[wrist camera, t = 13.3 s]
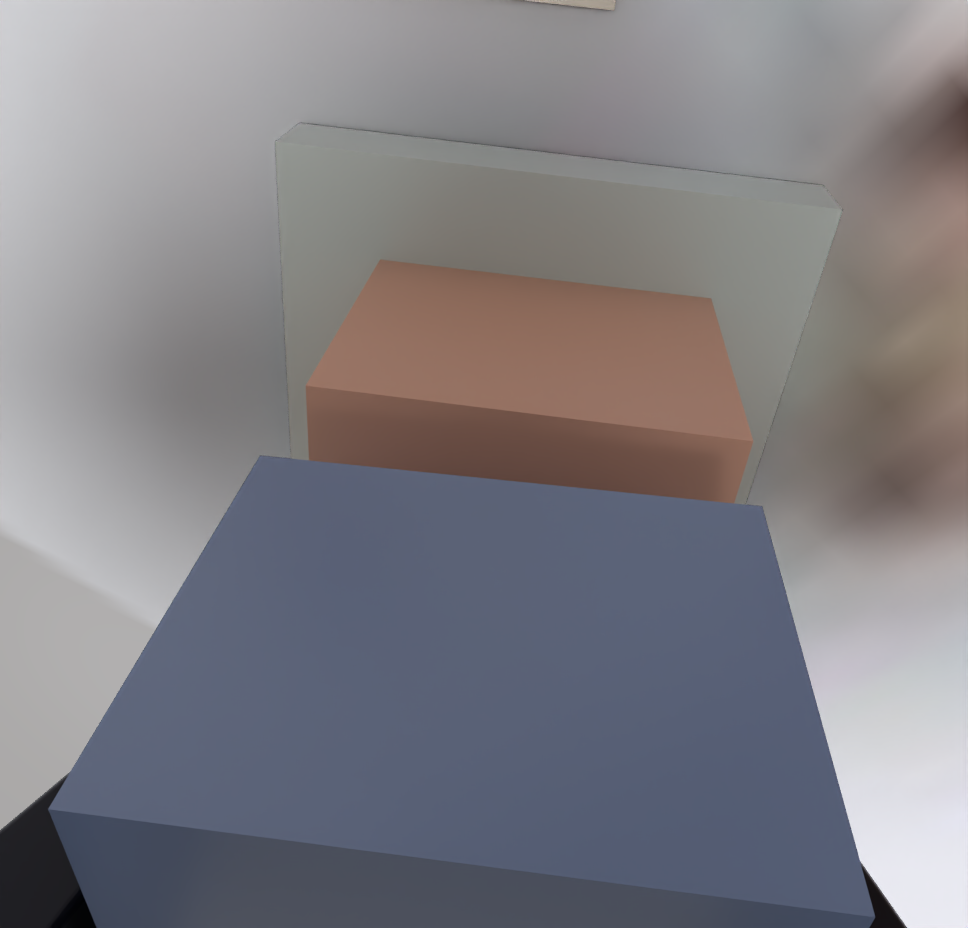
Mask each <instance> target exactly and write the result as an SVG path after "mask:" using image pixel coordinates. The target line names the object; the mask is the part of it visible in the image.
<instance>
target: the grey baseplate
mask: <svg viewBox="0 0 968 928" xmlns="http://www.w3.org/2000/svg"><path fill="white" fill-rule="evenodd" d="M275 154H276V174H277V194H278V214H279V234H280V254H281V274H282V294H283V314H284V334H285V354H286V374H287V394H288V413H289V433H290V453H291V459H300V460H309V450H308V428H307V405H306V384H307V382H308V381H309V379H310V377H311V376H312V374H313V372H314V371H315V369H316V367H317V365H318V364H319V362H320V360H321V359H322V357H323V355H324V354H325V352H326V350H327V349H328V347H329V345H330V343H331V342H332V340H333V338H334V337H335V335H336V333H337V332H338V330H339V328H340V326H341V325H342V323H343V321H344V320H345V318H346V316H347V315H348V313H349V311H350V310H351V308H352V306H353V304H354V303H355V301H356V299H357V298H358V296H359V294H360V293H361V291H362V289H363V288H364V286H365V284H366V282H367V281H368V279H369V277H370V276H371V274H372V272H373V271H374V269H375V267H376V265H377V264H378V262H379V260H388V261H397V262H405V263H414V264H422V265H431V266H440V267H448V268H457V269H465V270H474V271H482V272H491V273H499V274H508V275H516V276H525V277H533V278H542V279H550V280H559V281H567V282H576V283H584V284H593V285H601V286H610V287H619V288H627V289H636V290H644V291H653V292H661V293H670V294H678V295H687V296H695V297H704V298H711V300H712V303H713V306H714V310H715V313H716V317H717V320H718V323H719V327H720V330H721V333H722V337H723V340H724V344H725V347H726V350H727V354H728V357H729V360H730V364H731V367H732V371H733V374H734V377H735V381H736V384H737V387H738V391H739V394H740V398H741V401H742V404H743V408H744V411H745V415H746V418H747V421H748V425H749V428H750V431H751V435H752V438H753V444H752V448H751V451H750V454H749V457H748V460H747V464H746V467H745V470H744V473H743V476H742V480H741V483H740V486H739V489H738V493H737V496H736V499H735V502H734V504H744V505H746V502H747V498H748V495H749V492H750V489H751V486H752V483H753V480H754V477H755V474H756V471H757V468H758V465H759V462H760V459H761V456H762V453H763V450H764V447H765V444H766V441H767V438H768V435H769V432H770V429H771V426H772V423H773V420H774V417H775V414H776V411H777V408H778V405H779V402H780V399H781V396H782V393H783V390H784V387H785V384H786V381H787V378H788V375H789V371H790V368H791V365H792V362H793V359H794V356H795V353H796V350H797V347H798V344H799V341H800V338H801V335H802V332H803V329H804V326H805V323H806V320H807V317H808V314H809V311H810V308H811V305H812V302H813V299H814V296H815V293H816V290H817V287H818V284H819V281H820V278H821V275H822V272H823V269H824V266H825V263H826V260H827V257H828V254H829V251H830V248H831V244H832V241H833V238H834V235H835V232H836V229H837V226H838V223H839V220H840V217H841V214H842V211H843V209H842V208H841V207H840V205H839V204H838V203H837V202H836V200H835V199H834V198H833V197H832V195H831V194H830V193H829V192H828V190H827V189H826V188H825V187H824V185H817V184H808V183H800V182H792V181H783V180H775V179H766V178H758V177H750V176H741V175H733V174H724V173H716V172H707V171H699V170H691V169H682V168H674V167H665V166H657V165H649V164H640V163H632V162H623V161H615V160H607V159H598V158H590V157H581V156H573V155H565V154H556V153H548V152H539V151H531V150H523V149H514V148H506V147H497V146H489V145H481V144H472V143H464V142H455V141H447V140H439V139H430V138H422V137H413V136H405V135H396V134H388V133H380V132H371V131H363V130H354V129H346V128H338V127H329V126H321V125H312V124H304V123H298V124H297V125H296V126H295V127H293V128H292V129H291V130H289V131H288V132H287V133H285V134H284V135H283V136H281V137H280V138H279V139H278V140H276V141H275Z"/></svg>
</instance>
